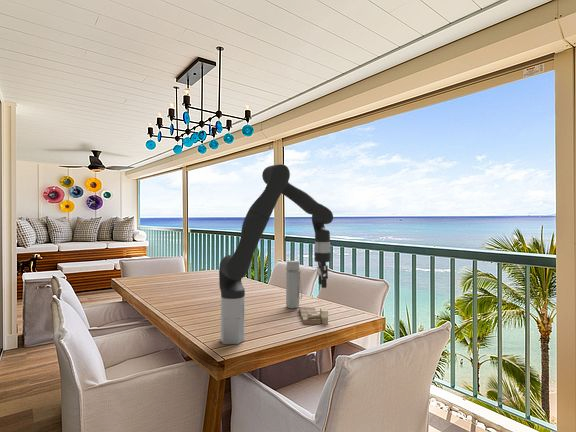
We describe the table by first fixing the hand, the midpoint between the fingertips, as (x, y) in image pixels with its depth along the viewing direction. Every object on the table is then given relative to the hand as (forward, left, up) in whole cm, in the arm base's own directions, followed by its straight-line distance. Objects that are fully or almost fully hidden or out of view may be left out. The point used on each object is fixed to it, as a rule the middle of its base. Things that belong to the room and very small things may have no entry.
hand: (322, 285), depth 153 cm
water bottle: (+25, +11, -17) cm, 32 cm away
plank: (+7, +5, -17) cm, 19 cm away
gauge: (-1, +2, -17) cm, 17 cm away
